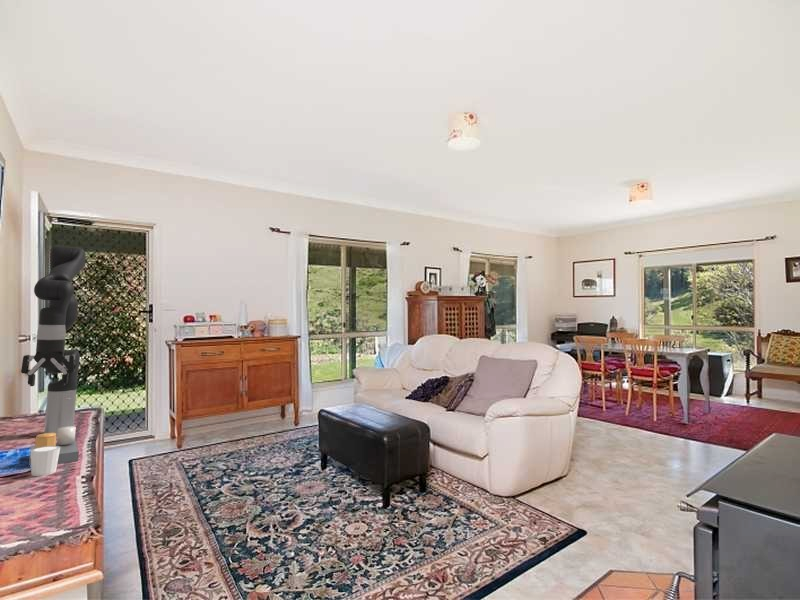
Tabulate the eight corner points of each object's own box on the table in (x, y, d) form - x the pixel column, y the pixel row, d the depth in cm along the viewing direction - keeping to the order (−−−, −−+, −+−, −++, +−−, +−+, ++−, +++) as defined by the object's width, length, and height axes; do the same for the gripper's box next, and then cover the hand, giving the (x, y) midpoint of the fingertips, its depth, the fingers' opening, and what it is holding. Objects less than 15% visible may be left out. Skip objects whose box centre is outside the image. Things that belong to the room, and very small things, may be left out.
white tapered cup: (64, 470, 127) (66, 447, 128) (38, 478, 121) (40, 453, 122) (48, 467, 130) (50, 444, 130) (22, 474, 123) (24, 450, 124)
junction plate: (30, 455, 141) (32, 429, 142) (75, 449, 149) (77, 424, 150) (28, 467, 129) (31, 439, 130) (78, 460, 137) (80, 433, 137)
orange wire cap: (38, 449, 136) (39, 433, 137) (56, 447, 138) (58, 432, 139) (32, 453, 132) (34, 437, 132) (51, 451, 134) (53, 435, 134)
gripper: (79, 337, 152) (76, 383, 151) (28, 337, 146) (25, 384, 145) (73, 339, 145) (70, 386, 145) (20, 338, 139) (16, 388, 139)
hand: (47, 385), depth 145 cm, fingers open, 8 cm apart
